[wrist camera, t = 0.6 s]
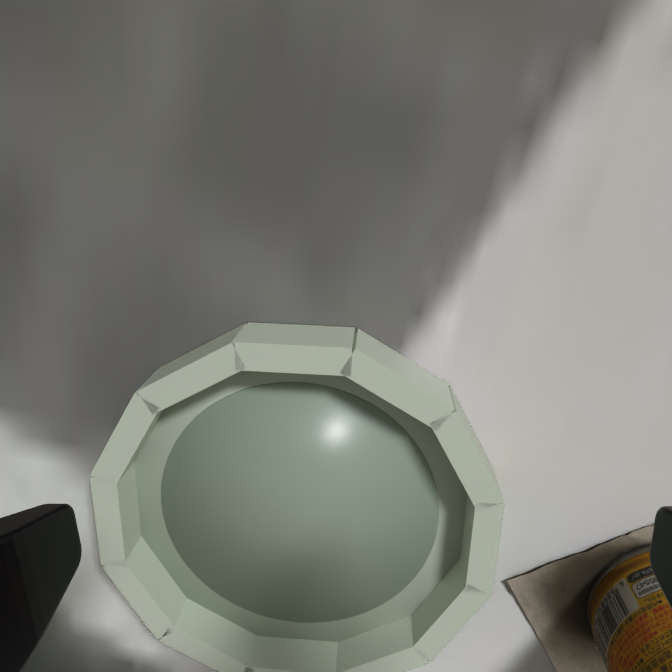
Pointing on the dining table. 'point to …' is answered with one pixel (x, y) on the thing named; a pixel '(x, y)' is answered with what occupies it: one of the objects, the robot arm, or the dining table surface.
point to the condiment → (601, 609)
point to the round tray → (298, 505)
